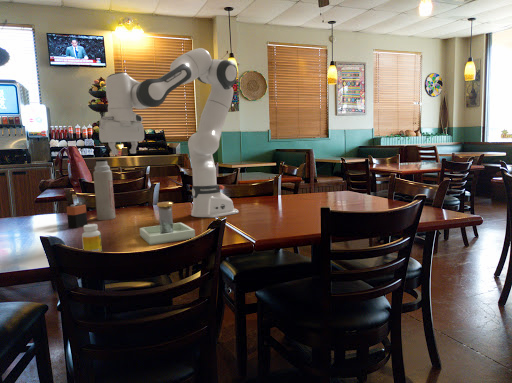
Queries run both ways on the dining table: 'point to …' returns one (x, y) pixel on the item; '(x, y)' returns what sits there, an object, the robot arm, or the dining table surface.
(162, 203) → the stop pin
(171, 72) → the robot arm
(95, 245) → the supplement bottle
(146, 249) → the dining table surface
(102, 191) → the thermos bottle
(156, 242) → the tray
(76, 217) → the battery
